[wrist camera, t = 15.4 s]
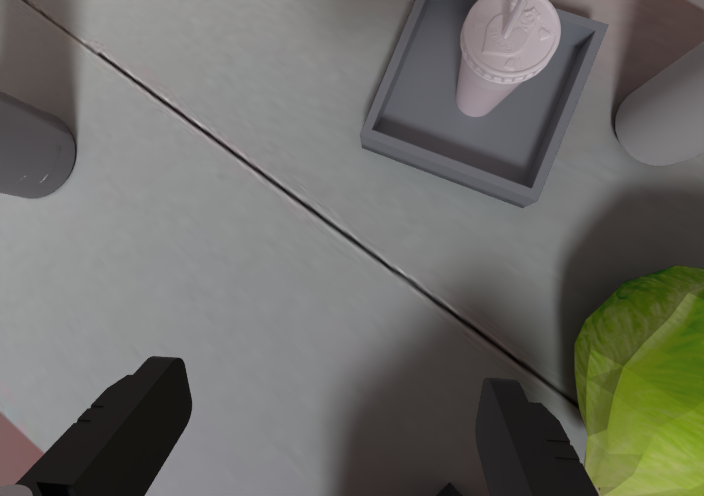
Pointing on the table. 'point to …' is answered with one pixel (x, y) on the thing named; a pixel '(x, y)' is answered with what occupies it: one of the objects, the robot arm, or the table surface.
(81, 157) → the table surface
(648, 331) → the lettuce
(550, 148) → the tray
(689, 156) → the can
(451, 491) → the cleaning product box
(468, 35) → the smoothie
